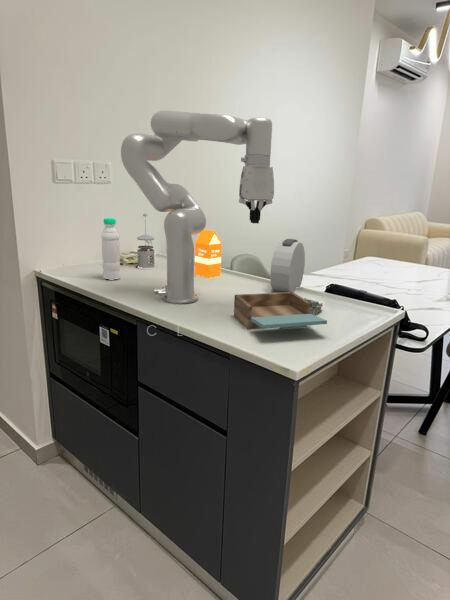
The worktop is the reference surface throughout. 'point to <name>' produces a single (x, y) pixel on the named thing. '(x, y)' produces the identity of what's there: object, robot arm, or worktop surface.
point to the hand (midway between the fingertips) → (254, 222)
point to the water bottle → (110, 250)
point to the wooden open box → (268, 306)
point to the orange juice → (208, 254)
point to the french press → (145, 251)
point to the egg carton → (314, 307)
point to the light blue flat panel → (288, 321)
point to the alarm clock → (287, 266)
